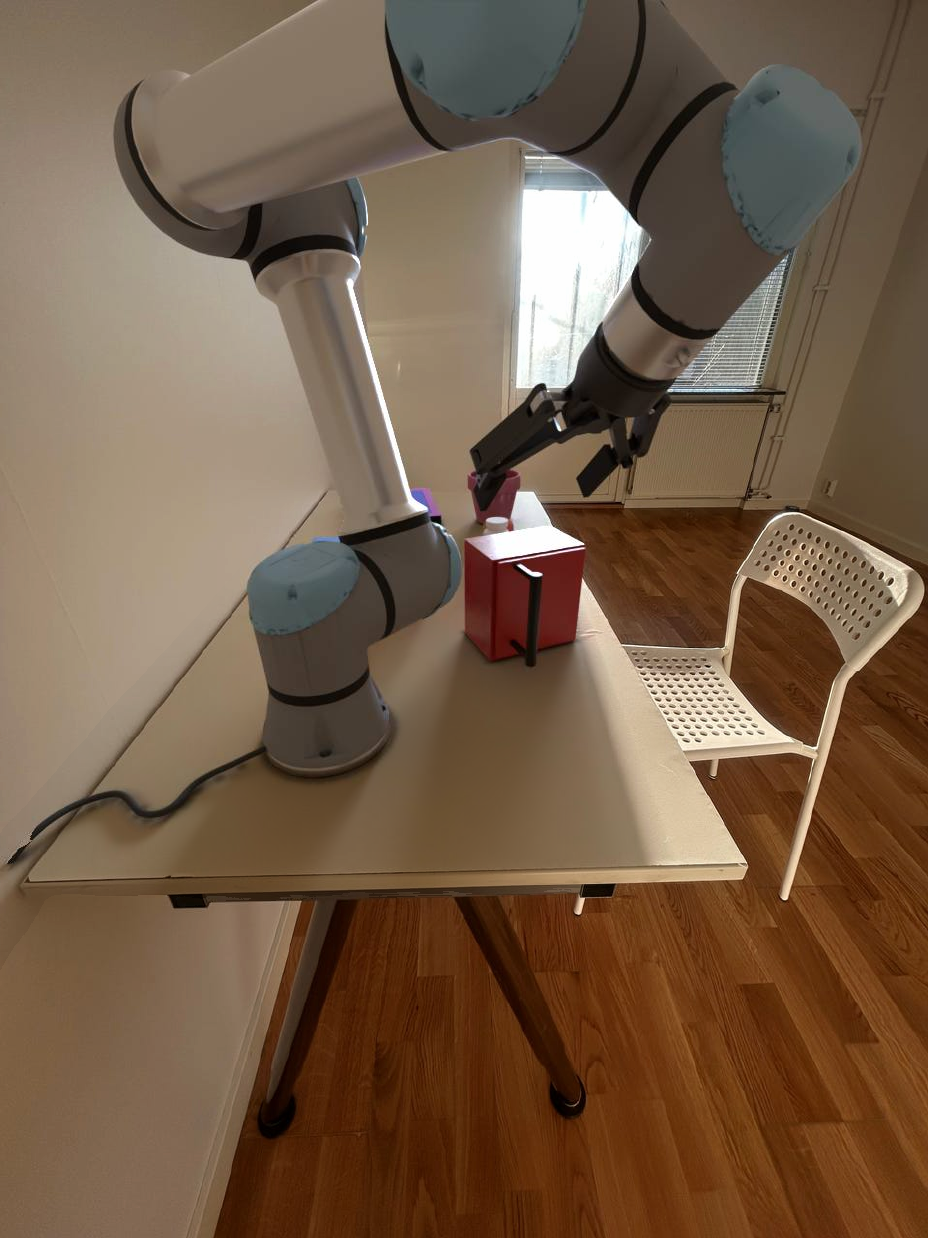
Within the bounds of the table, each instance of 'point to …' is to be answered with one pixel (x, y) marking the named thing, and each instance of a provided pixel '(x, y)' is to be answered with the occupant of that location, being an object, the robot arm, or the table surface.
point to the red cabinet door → (537, 602)
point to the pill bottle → (496, 526)
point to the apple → (509, 527)
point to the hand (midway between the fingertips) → (532, 493)
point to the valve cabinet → (483, 575)
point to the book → (427, 503)
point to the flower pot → (497, 496)
